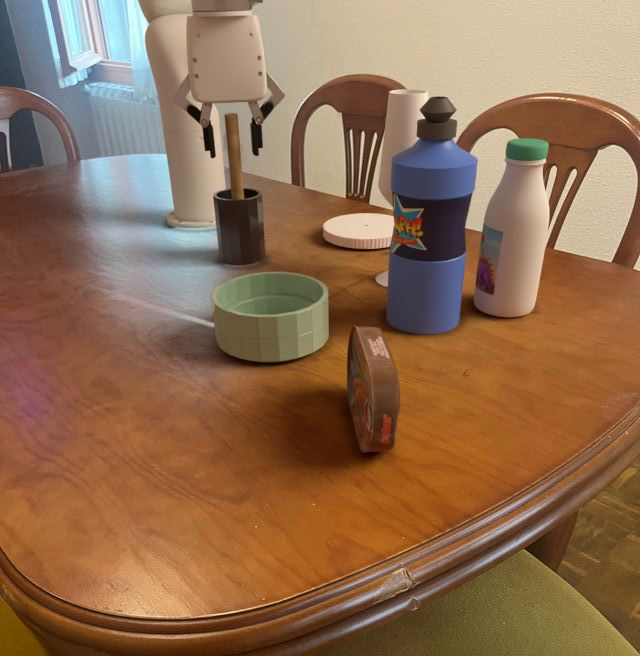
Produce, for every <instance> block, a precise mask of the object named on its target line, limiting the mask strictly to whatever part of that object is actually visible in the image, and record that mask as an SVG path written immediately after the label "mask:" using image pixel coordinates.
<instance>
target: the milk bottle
mask: <svg viewBox="0 0 640 656" xmlns="http://www.w3.org/2000/svg"><path fill="white" fill-rule="evenodd" d="M549 146H550V145H549V142H548V141H546V140H543V139H539V138H530V137H529V138H528V137H527V138H526V137H523V138H521V137H520V138H513V139H510V140H508V141H507V142H506V146H505V158H504V162H505V168H504V171H503V175H502V177H501V179H500V181H499V183H498V185H497V187H496V188H495V191H494V192H493V193H492V196H491V197H490V199H489V201H488V204H487V205H486V206H487V207H486V210H485V213H484V218H483V223H482V230H481V237H480V243H479V244H480V245H479V253H478V260H477V268H476V269H477V270H476V277H475V285H474V293H473V303H474V306H475V308H476V309H477V310H479V311H480V312H482V313H484V314H486V315H489V316H493V317H499V318H518V317H523V316H526V315H528V314H530V313H531V312H532V311H533V310H534V309H535V305H536V301H537V296H538V292H539V287H540V286H539V285H540V282H541V281H540V279H541V275H542V269H543V263H544V257H545V251H546V245H547V239H548V233H549V226H550V216H551V215H550V212H551V211H550V202H549V198H548V195H547V190H546V188H545V182H544V176H543V175H544V173H543V172H544V171H543V170H544V165H545V164H547V157H548V154H549Z"/></svg>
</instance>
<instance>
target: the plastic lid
mask: <svg viewBox="0 0 640 656" xmlns="http://www.w3.org/2000/svg"><path fill="white" fill-rule="evenodd" d="M393 229H394V215H390V214H383V213H375V212H374V213H372V212H370V213H369V212H366V213H365V212H363V213H361V212H358V213H349V214H342V215H337V216H334V217H331V218H329V219H327V220H325V222H323V225H322V238H323V239H324V240H325V241H326V242H328V243H330V244H331V245H334V246H338V247H344V248H348V249H350V248H351V249H357V250H358V249H359V250H362V249H363V250H370V249H371V250H374V249H382V248H383V249H385V248H390V246H391V240H392V234H393Z"/></svg>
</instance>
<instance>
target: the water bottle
mask: <svg viewBox="0 0 640 656" xmlns="http://www.w3.org/2000/svg"><path fill="white" fill-rule="evenodd" d="M457 110H458V109H457V108H456V106H455V105H454V104H453V102H452V101H451V100H450V99H449V97H447V96H440V95H439V96H438V95H437V96H431V97H430V98H428V101H427V102H426V103H425V104H424V105H423V106H422V107H421V108H420V112H421V113H422V114H423V116H424V117H425V119H420V120H418V121H417V135H416V136H417V137H418V138H419V140H418V141H417V142H416V143H415V144H414V145H413V146H412V147H410V148H408V149H406V150H404V151H402V152H400V153H398V154H397V155H395V156H393V157H392V164H391V190H392V199H393V207H392V211H393V216H394V229H393V234H392V240H391V246H389V249H388V250H389V253H388V269H387V270H388V287H387V295H386V322H387V323H388V324H389V325H390V327H392V328H394V329H396V330H398V331H401V332H404V333H409V334H414V335H436V334H442V333H443V334H444V333H447V332H449V331H451V330H453V329H455V328H456V327H458V325H459V323H460V315H461V307H462V300H463V299H462V298H463V289H464V279H465V270H466V269H465V268H466V260H467V259H466V258H467V245H466V244H467V243H466V241H467V240H466V225H467V219H468V216H469V213H470V212H469V211H470V207H471V203H472V198H473V197H472V196H473V193H474V192H475V189H476V181H477V171H478V164H479V163H478V162H479V159H478V157H476V156H475V155H473V154H472V153H470V152H468V151H466V150H464V149H463V148H461V147H459V145H458V144H457V143H456V141H455V140H454V138H456V137H457V129H458V120H457V119H453V118H452V116H453V115H455V113H456V112H457Z"/></svg>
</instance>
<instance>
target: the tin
mask: <svg viewBox="0 0 640 656" xmlns="http://www.w3.org/2000/svg"><path fill="white" fill-rule="evenodd" d="M346 359H347V360H346V392H347V398H348V399H347V401H348V405H349V410H350V414H351V418H352V422H353V426H354V431H355V435H356V439H357V444H358V447H359V449H360V451H361V452H362V453H363V454H366V453H369V452H371V453H372V452H374V453H375V452H389V451H391V450H393V449H394V447H395V446H396V441H397V439H396V434H397V428H398V419H399V415H400V411H401V384H400V378H399V373H398V369H397V365H396V363H395V361H394V358H393V355H392V352H391V350H390V346H389V345H388V342H387V340H386V337H385V334H384V333H383V330H382V329H381V328H380V327H378V326H357V325H352V327H351V329H350V332H349V337H348V344H347V356H346Z"/></svg>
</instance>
